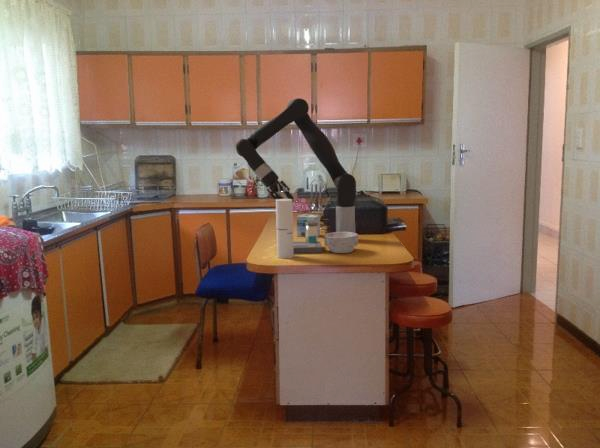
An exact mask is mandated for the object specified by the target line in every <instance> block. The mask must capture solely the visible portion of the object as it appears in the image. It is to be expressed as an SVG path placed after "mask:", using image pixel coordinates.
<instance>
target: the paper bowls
mask: <svg viewBox="0 0 600 448" xmlns="http://www.w3.org/2000/svg"><path fill="white" fill-rule="evenodd" d="M323 241H324V246H325V247H327V248H328V249H329V251H330V252H331V253H335V254H349V253H352V252H353V251H354V249H355V247H357V246H359V234H358V233H356V232H355V233H354V232H336V231H335V232H334V231H333V232H328V233H325V234H324V240H323Z"/></svg>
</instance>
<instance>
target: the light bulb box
mask: <svg viewBox="0 0 600 448" xmlns="http://www.w3.org/2000/svg"><path fill="white" fill-rule="evenodd" d="M320 216H321V215H320V214H305V213H304V214H303V213H302V214H299V215H297V216H296V237H302V238H306V223H308V222H316V223H318V237H319V236H320V235H321V218H320Z"/></svg>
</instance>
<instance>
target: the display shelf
mask: <svg viewBox="0 0 600 448" xmlns="http://www.w3.org/2000/svg"><path fill="white" fill-rule="evenodd" d="M322 246H323V245H322V243H321V240H318V244H306V241H293V251H294V254H315V253H316V254H321V253H322V252H323V251H322V249H323V247H322Z"/></svg>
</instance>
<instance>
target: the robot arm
mask: <svg viewBox="0 0 600 448" xmlns="http://www.w3.org/2000/svg"><path fill="white" fill-rule="evenodd" d="M309 109H310V107H309V103H308V102H307V101H306V99H303V98H299V97H298V98H294V99H293V100H291V101H289V102H288V104H287V105H286V108H285V109H284V110H283V111H281V112H280V113H279V114H277V115H276V116H275V117H273V118H271V119H270V120H268V121H266V122H264V123H263V124H262V125H260V126H259V127H258V128H256V129H255V130H253V132H252V133H250V135H249V136H248V137H247V138H240V139H238V140H237V142H236V144H235V149H236V152H237V154H238V156H240V157H242V158H243V159H244V160H245V161H246V164H247V165H248V166H249V167H250V169H251V170H252V172H253V173H254V174H255V176H256V177H257V179H259V180H260V182H261V183H262V184H263V186H265V188H267V189H266V191H267V192H268V193H269V194H270V196H271V198H273V200H277V199H285V198H284V197H283V196H282V195H281V194H283V195H285V197H287V198H286V199H292V201H293V200H294V199H295V197H294V196H293V195H292V193H291V192H290V191H291V189H290V187H289V186H288V185H287V183H285V182H284V180H280V181H279V176H278V174H277V173H276V172H275V171H274V169H273V168H272V167H271V166H270V165H269V164H268V163H267V162H266V161H265V159H264V158H263V157H262V156H261V155H260V154H259V152H258V151H257V149H258V148H259V147H261V146H262V144H264V143H266V142H267V141H268V140H270V139H271V138H272V137H274V136H275V135H277V134H278V132H280V131H282V129H284V128H285V127H288V125H290V124H292V123H295V125H296V126H297V128H298V129H299V130H300V132H301V134H302V135H303V138H304V139H305V140H306V141H305V142H306V143H307V144H308V146H309V147H310V149H311V150H312V152H313V154H314V155H315V157H316V158H317V160H318V161H319V162H320V163H321V164H322V166H323V167H324V168H325V169H326V171H327V173H328V175H329V177H330V179H331V181H332V182H333V184H334V187H335V188H336V190H337V192H336V195H337V196H336V200H335V232H354V233H356V220H355V219H356V217H355V212H356V209H355V207H356V206H355V203H356V201H357V200H356V198H357V182H356V179H355V177H354V176H353V175H352V174H350V173H348V172H347V170H345V168H344V166H342V163H340V161H339V159H338V156H337V153H336V151H335V149H334V146H333V144H332V143H331V142H330V140H329V138H328V136H326V134H325V133H324V131H322V130H321V128H319V126H317V125H316V124H315V122H314V121H313V120H312V118H311V116H310V115H309Z"/></svg>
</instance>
